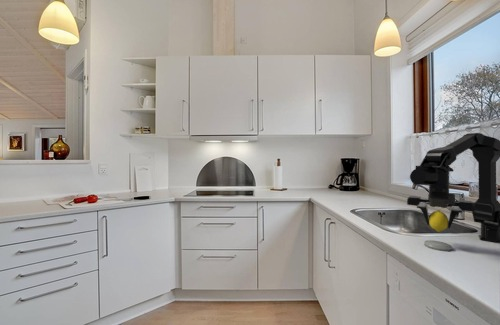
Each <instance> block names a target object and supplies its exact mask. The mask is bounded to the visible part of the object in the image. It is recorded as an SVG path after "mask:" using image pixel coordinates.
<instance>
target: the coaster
mask: <svg viewBox="0 0 500 325" xmlns="http://www.w3.org/2000/svg"><path fill="white" fill-rule="evenodd" d="M423 246H424V247H426V246H427V248H428V249H432V250H436V251H440V252H441V251H442V252H452V251H453V246H452V245H451V244H449V243H447V242H444V241H439V240H433V239H430V240H429V239H427V240H424V242H423Z"/></svg>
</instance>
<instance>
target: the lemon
mask: <svg viewBox="0 0 500 325" xmlns="http://www.w3.org/2000/svg"><path fill="white" fill-rule="evenodd" d="M448 222H449V218H448V216H447V215H446V213H445V212H443V211H441V210H440V209H439V210H436V211H433V212H432V213H430V215H429V226H430V228H432V229H433V230H435V231H436V233H440V232H442V231H446V229H447V228H448Z"/></svg>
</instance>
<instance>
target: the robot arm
mask: <svg viewBox="0 0 500 325" xmlns="http://www.w3.org/2000/svg"><path fill="white" fill-rule="evenodd" d="M468 150H470V151H471V153H472V157H473V158H474V159H475V161H477V162H478V163H477V164H478V165H477V166H478V170H477V171H478V174H477V175H478V198H477V200H476V201H475V202H473V201H472V200H464V199H461V200H460V199H458V201H456V194H455V193H450V172H451V173H452V172H454V169H453V168H452V167H451V165H452V164H453V163H454V162H455V161H456V160H457V157H458V155H460V154H462V153H464V152H466V151H468ZM499 159H500V140H499V139H498V138H497V137H491V136H489V135H485V134H483V133H481V132H472V133H466V134H463V136H462V137H460V138H458V139H455V140H454V141H452V142H451V143H449V144H447V145H445V146H441V147H437V148H433V149H429V150H427V151H426V154H425V156H424V157H423V159H422V161H421V163H420V164H419V165H415V169H413V170H412V171H411V173H410V175H409V178H410V181H411V182H412V183H413V184H414V185H417V186H423V185H428V199H426V198H425V199H424V198H422V197H421V196H415V195H409V196H408V197H407V199H406V200H407V201H406V205H408V206H416V208H417V209H419V210H420V211H421V212H422V214H423V217H424V219H425V221H426V225H427V226H430V223H429V217H430V215H429V209H428V206H430V207H432V208H435V207H436V208H442V209H446V208H449V207H450V211H449V216H448V217H449V218H448V227H447V228H448V229H451V226H452V224H453V222H454V219H455V218H456V216H457V215H458V214H459V213H460V214H462V213H463V212H471V213H472V218H473V222H474V223H479V224H480V234H478V238H479V240H480V241H487V242H493V243H498V244H500V202H499V201H498V198H497V161H499Z"/></svg>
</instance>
